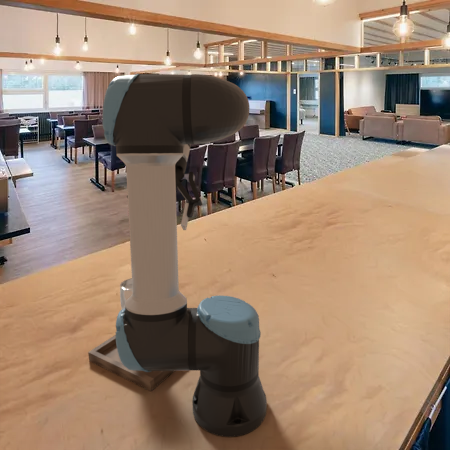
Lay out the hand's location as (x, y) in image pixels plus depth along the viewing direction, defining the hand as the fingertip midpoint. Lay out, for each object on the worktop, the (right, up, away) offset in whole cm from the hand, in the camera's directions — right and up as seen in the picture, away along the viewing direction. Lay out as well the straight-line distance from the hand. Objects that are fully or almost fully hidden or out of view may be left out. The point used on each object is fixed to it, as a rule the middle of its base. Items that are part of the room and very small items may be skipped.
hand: (157, 226), depth 101 cm
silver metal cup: (-4, -28, -4) cm, 28 cm away
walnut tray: (-2, -32, -2) cm, 32 cm away
